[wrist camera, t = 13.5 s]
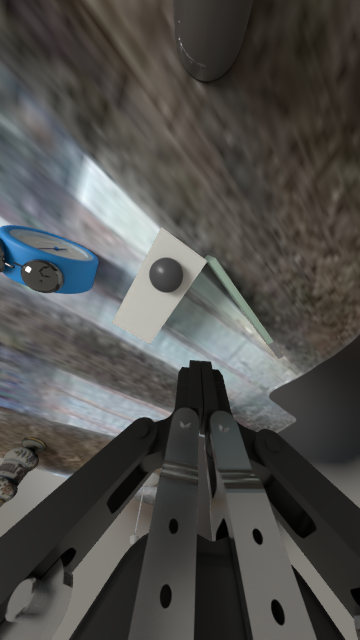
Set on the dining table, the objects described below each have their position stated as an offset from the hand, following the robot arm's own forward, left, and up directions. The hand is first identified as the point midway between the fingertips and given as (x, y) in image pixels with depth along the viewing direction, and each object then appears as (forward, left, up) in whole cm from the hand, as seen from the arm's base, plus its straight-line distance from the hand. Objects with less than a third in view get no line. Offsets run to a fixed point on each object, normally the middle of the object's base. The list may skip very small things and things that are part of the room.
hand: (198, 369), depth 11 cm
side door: (-4, +9, -26) cm, 28 cm away
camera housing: (+3, -6, -26) cm, 27 cm away
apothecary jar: (+93, -17, -26) cm, 98 cm away
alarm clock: (+9, -24, -26) cm, 37 cm away
